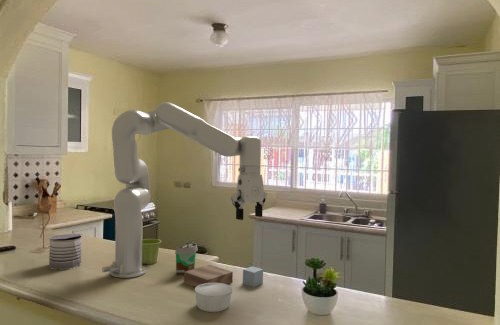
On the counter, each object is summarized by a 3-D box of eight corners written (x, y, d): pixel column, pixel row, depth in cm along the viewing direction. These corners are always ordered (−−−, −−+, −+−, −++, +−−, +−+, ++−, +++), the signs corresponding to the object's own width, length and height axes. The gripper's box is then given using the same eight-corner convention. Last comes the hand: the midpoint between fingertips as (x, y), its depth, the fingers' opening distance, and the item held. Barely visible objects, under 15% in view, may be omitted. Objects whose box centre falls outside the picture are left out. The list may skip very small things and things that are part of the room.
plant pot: (133, 261, 154) (133, 240, 153) (155, 258, 159) (155, 237, 159) (142, 267, 146) (142, 245, 146) (164, 263, 152) (165, 242, 152)
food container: (190, 277, 136) (191, 249, 136) (174, 275, 137) (175, 248, 137) (201, 267, 148) (202, 242, 148) (186, 265, 149) (187, 240, 149)
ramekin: (213, 296, 119) (213, 279, 119) (239, 305, 112) (240, 288, 112) (186, 306, 110) (186, 288, 110) (213, 317, 103) (213, 298, 103)
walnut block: (207, 292, 123) (207, 280, 123) (183, 283, 131) (184, 271, 131) (232, 283, 132) (232, 271, 132) (208, 275, 140) (209, 264, 140)
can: (57, 272, 138) (58, 239, 138) (43, 265, 145) (43, 234, 145) (87, 265, 147) (87, 234, 147) (72, 259, 154) (72, 230, 154)
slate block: (253, 287, 128) (254, 272, 128) (242, 283, 131) (243, 269, 131) (262, 283, 132) (263, 269, 131) (251, 280, 135) (252, 266, 135)
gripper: (239, 171, 127) (239, 222, 127) (273, 170, 139) (273, 216, 139) (225, 170, 132) (224, 219, 133) (259, 169, 144) (258, 214, 145)
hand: (249, 217), depth 136 cm, fingers open, 9 cm apart
